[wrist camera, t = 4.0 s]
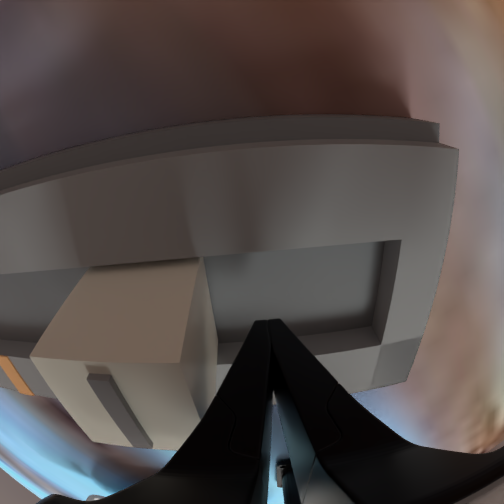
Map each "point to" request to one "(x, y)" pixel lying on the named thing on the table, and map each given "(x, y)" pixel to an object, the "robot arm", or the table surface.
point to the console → (243, 233)
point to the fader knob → (134, 352)
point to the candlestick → (94, 497)
